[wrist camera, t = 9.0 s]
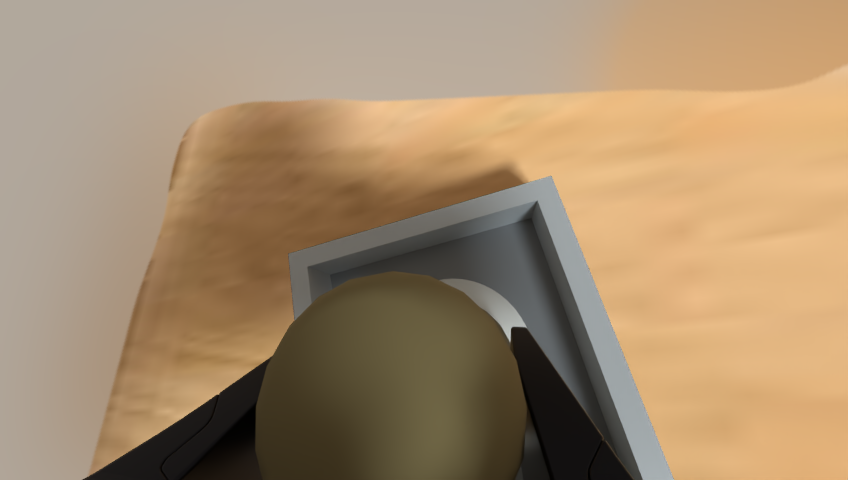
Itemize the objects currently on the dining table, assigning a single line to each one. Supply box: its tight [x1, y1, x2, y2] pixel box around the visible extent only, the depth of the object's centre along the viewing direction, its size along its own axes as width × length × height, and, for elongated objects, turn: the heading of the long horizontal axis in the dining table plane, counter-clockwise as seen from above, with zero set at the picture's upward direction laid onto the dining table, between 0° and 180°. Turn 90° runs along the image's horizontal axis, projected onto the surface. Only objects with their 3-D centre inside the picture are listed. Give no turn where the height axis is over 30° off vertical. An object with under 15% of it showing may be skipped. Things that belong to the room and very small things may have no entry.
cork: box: [255, 271, 527, 480], centre depth 10 cm, size 6×6×11 cm
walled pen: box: [288, 176, 674, 480], centre depth 15 cm, size 14×14×3 cm
